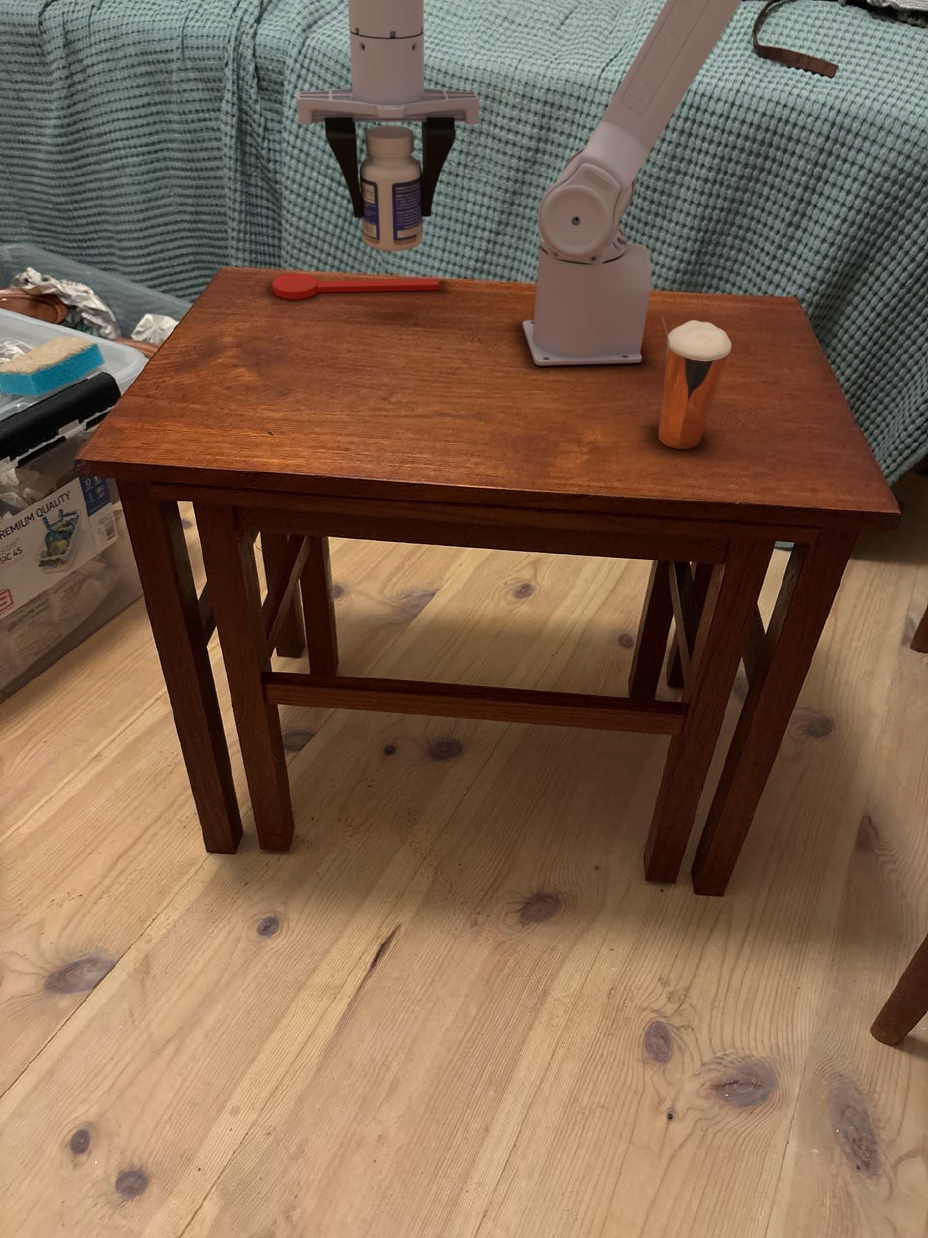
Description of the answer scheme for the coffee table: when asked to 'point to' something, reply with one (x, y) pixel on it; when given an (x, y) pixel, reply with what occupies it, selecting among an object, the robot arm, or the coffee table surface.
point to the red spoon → (343, 285)
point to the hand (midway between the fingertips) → (391, 213)
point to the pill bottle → (391, 190)
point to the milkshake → (691, 381)
